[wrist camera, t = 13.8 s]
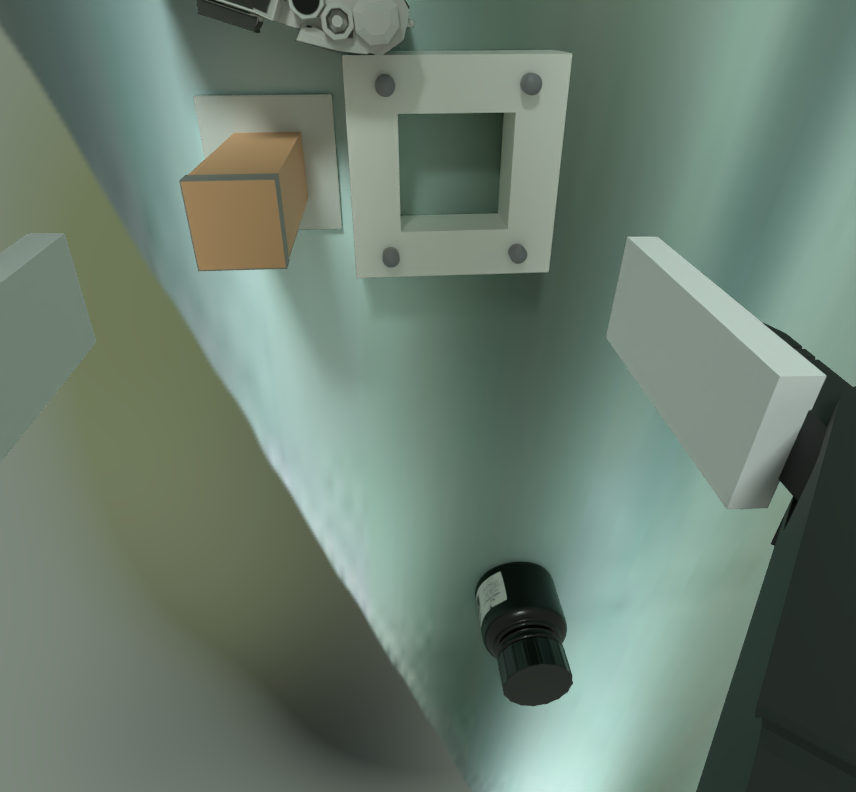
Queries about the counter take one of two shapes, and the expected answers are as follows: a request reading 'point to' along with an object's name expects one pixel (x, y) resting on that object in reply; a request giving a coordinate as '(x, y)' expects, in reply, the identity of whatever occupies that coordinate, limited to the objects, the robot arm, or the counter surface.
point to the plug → (247, 202)
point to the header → (519, 173)
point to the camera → (322, 21)
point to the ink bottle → (524, 632)
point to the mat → (283, 115)
